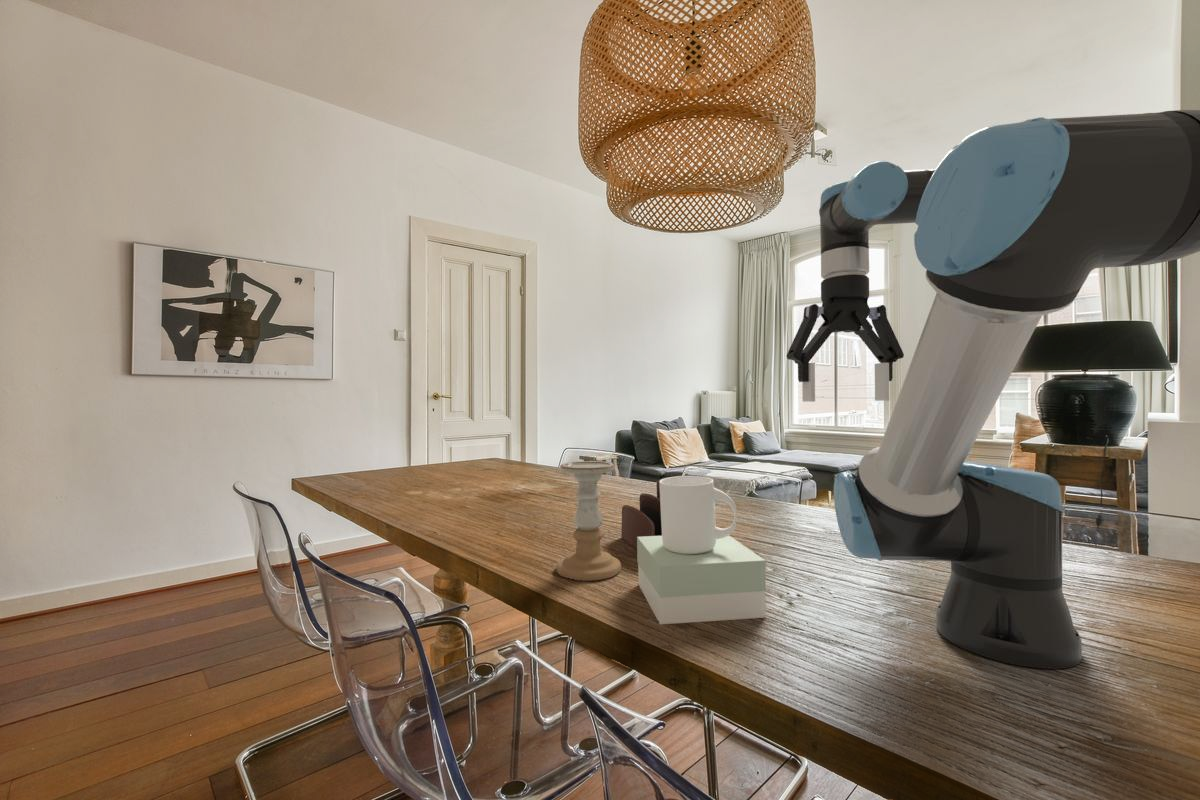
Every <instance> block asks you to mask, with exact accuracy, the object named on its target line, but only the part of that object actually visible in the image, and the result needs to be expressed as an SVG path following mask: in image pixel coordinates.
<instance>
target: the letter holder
mask: <svg viewBox="0 0 1200 800" xmlns="http://www.w3.org/2000/svg"><path fill="white" fill-rule="evenodd" d="M660 480H661V479H658V480H656V496H655V495H653V494H649V493H640V495H639V499H638V500H639V509H638V508H636V507H634V506H631V505H628V504H624V505H622V508H621V538H622V540H624V541H625V542H626V543H628V544H629V545H630V546H631V547H632V548H634V549H635V550H636V551H637V537H643V536H662V527H661V507H660V486H659V481H660Z"/></svg>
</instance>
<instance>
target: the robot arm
mask: <svg viewBox="0 0 1200 800" xmlns="http://www.w3.org/2000/svg"><path fill="white" fill-rule="evenodd" d="M937 165H938V166H937V167H936V168H933V169H931V168H930V169H910V170H904V169H903V168H902V167H900V165H896V164H894V163H893V162H890V161H885V160H883V161H881V160H880V161H876V162H872V163H870V164H867V165H866V166H865V167H863V168H861V170H860V171H859V172H858V173H856V174H854V175H853V176H852V177H851V178H850V179H849V180H847V181H841V182H836V183H834V184H832V185H831V186H829V187H827V188H825V189H824V190H823V191H822V193H821V194H820V195H821V196H820V203H819V204H820V205H819V209H818V214H819V222H820V223H819V224H820V225H819V226H820V232H819V234H820V277H821V278H822V279H823V280H822V281H821V282H820V300H821V303H822V304H821V306H819V305H818V304H817V303H814V304H813V303H812V304H810V305H808V306H805V307H804V309H803V319H802V321H801V323H800V325H799V328H798V329H797V332H796V334H795V336H794V338H793V341H792V342H791V345H790V346H789V349H788V352H787V354H786V359H787V360H789V361H790V360H791V361H794V364H797V380H798V382H799V383H801V384H802V386H801V387H802V388H801V389H802V390H801V391H802V402H804V403H805V402H812V403H813V402H816V370H815V369H816V363H815V362H810V361H811V360H812V359H813V357H814V356H815V355H816V353H817V352H818V351H819V350H820V348H821V347H823V345H824V343H825V342H826V341H828V338H829V337H830V336H831V335H832V333H841V332H843V333H854V334H855V335H857V336H858V337H859V338H860V339H861V341H862V342H863V343H864V344H865V346H866V347H867V348H868V349H869V350H870V352H871V353H872V354H873V356H874V357H875V359H877V361H878V362H877V363H874V401H875V402H876V401H883V402H884V401H886V402H887V401H890V382H892V381H893V376H894V374H893V368H894V367H893V364H894V363H895V362H897V361H898V360H900V359H903V358H904V356H905V354H904V352H903V349H902V346H901V345H900V342H899V341H898V339H897V336H896V334H895V331H894V330H893V328H892V326H891V323H890V322H889V319H888V315H887V308H886V305H884V304H880V305H877V306H874V307H870V306H869V303H868V300H869V297H870V278H869V277H868V274H869V273H870V245H869V243H870V241H869V239H870V238H869V236H870V235H869V234H870V232H869V230H871V228H873V227H874V226H876V225H877V226H878V225H895V224H897V225H898V224H916V226H917V229H916V231H915V232H914V235H913V239H914V243H913V244H914V249H915V255H916V257H917V260H918V261H919V263H920V264H921V266H922V267H923V269H926V270H925V279H926V281H927V282H928V284H929V285H930V286H931V288H932V289H933V290H934V291H935V292H936V294H935V296H934V298H933V299H934V300H933V302H932V304H931V307H930V311H929V313H928V316H927V319H926V321H925V324H924V327H923V329H922V332H921V334H920V338H919V340H918V342H917V345H916V348H915V351H914V354H913V356H912V359H911V361H910V364H909V367H908V370H907V372H906V375H905V377H904V381H903V383H902V386H901V389H900V392H899V394H898V396H897V399H896V403H895V405H894V407H893V410H892V413H891V415H890V418H889V421H888V423H887V427H886V429H885V432H884V435H883V437H882V440H881V443H880V446H877V447H874V448H873V449H870V450H869V451H868V452H866V453H865V454H864V455H863V456H862V458H861V460H860V462H859V465H858V468H857V470H856V471H851V470H848V469H847V470H846V471H841V472H838V473H837V474H836V476H835V477H834V483H833V501H834V512H835V517H836V520H837V521H836V522H837V526H838V530H839V533H840V537H841V539H842V541H843V544H844V546H845V547H846V549H847V550H848V551H849V553H851V554H852V555H853V556H855V557H856V558H860V559H872V560H877V561H879V562H880V561H881V562H882V561H927V562H928V561H929V562H930V561H931V562H933V561H935V562H940V561H941V562H950V575H949V578H948V581H947V584H946V587H945V590H944V593H943V596H942V600H941V602H940V603H939V604H938V606H937V608H936V615H935V620H936V621H935V624H936V625H935V626H936V629H937V631H938V633H939V634H940V635H941V636H942V637H943V638H945V639H946V640H947V641H949V642H950V643H952V644H954V645H955V646H958V647H959V648H962V649H963V650H966V651H968V652H970V653H974V654H976V655H979V656H981V657H984V658H987V659H991V660H994V661H997V662H1002V663H1006V664H1010V665H1015V666H1019V667H1027V668H1035V669H1049V670H1052V669H1054V670H1055V669H1059V670H1060V669H1065V668H1071V667H1075V666H1077V665H1079V664H1080V663H1081V661H1082V660H1083V655H1082V654H1083V651H1082V650H1083V647H1082V646H1083V645H1082V644H1083V642H1082V638H1081V636H1080V635H1081V634H1080V633H1079V632H1078V630H1077V629H1076V628H1075V626H1074V622H1073V618H1072V615H1071V612H1070V609H1069V607H1068V604H1067V601H1066V598H1065V596H1064V595H1065V594H1064V593H1063V592H1064V591H1063V514H1064V513H1065V509H1064V505H1063V498H1062V491H1061V489H1062V488H1061V486H1060V485H1061V484H1059V482H1058V481H1057V479H1056V478H1054V477H1053V476H1051V475H1049V474H1046V473H1043V472H1038V471H1033V470H1029V469H1022V468H1016V467H1012V466H1002V465H999V464H998V465H997V464H996V465H995V464H989V463H983V462H975V461H966V460H967V458H968V456H969V453H970V452H971V450H972V448H973V447H974V443H976V440H977V439H978V436H979V435H980V433H981V431H982V429H983V428H984V426H985V424H986V421H987V419H988V418H989V416H990V414H991V412H992V410H993V408H994V406H995V405H996V403H997V401H998V399H999V398H1000V396H1001V394H1002V392H1003V390H1004V388H1005V386H1006V384H1007V382H1008V380H1009V379H1010V376H1011V375H1012V373H1013V371H1014V369H1015V368H1016V366H1017V363H1018V362H1019V360H1020V358H1021V357H1022V354H1023V353H1024V350H1025V348H1026V347H1027V345H1028V342H1029V341H1030V340H1031V337H1032V336H1033V333H1034V332H1035V330H1036V328H1037V326H1038V324H1039V322H1040V320H1041V318H1042V317H1043V316H1046V315H1049V314H1052V313H1055V312H1059V311H1062V310H1064V309H1065V308H1067V307H1069V306H1070V305H1071V304H1073V303H1074V301H1075V299H1076V298H1077V296H1078V295H1079V292H1080V291H1081V289H1082V287H1083V285H1084V284H1085V282H1086V281H1087V278H1088V277H1089V275H1090V273H1091V272H1092V271H1093V270H1095V269H1100V268H1101V269H1103V268H1118V267H1119V268H1122V267H1123V268H1124V267H1132V266H1133V267H1134V266H1135V267H1136V266H1150V265H1155V264H1159V263H1165V262H1169V261H1170V262H1171V261H1174V260H1179V259H1183V258H1185V257H1188V256H1191V255H1193V254H1196V253H1199V252H1200V109H1179V110H1178V109H1177V110H1166V111H1165V110H1164V111H1161V112H1160V111H1159V112H1145V113H1134V114H1133V113H1132V114H1131V113H1129V114H1113V115H1095V116H1094V115H1092V116H1075V117H1060V118H1059V117H1057V118H1045V117H1036V118H1030V119H1026V120H1023V121H1019V122H1012V123H1005V124H997V125H996V124H995V125H990V126H985V127H984V128H981V129H979V130H976V131H975V132H973V133H970V134H968V136H966V137H964V138H963V139H962V140H961V141H960V142H959V143H958V144H957V145H955V146H953V147H952V148H951V149H950V150H949V151H948V152H947V154H946V155H945V156H944V157H943V159H941V161H940V162H939V164H937ZM819 317H821V318H822V320H823V322H822V323H821V325H819V328H818V329H817V332H816V333H815V334H814V335H813V336H812V338H811V339H810V340H809V338H810V336H811V333H812V332H813V329H814V327H815V325H816V322H817V319H818V318H819ZM867 318H869V319H870V320H871V323H872V324H871V323H870V322H869V320H868V319H867ZM873 328H874V329H873ZM874 330H875V331H874ZM808 341H809V342H808ZM807 342H808V343H807Z"/></svg>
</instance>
